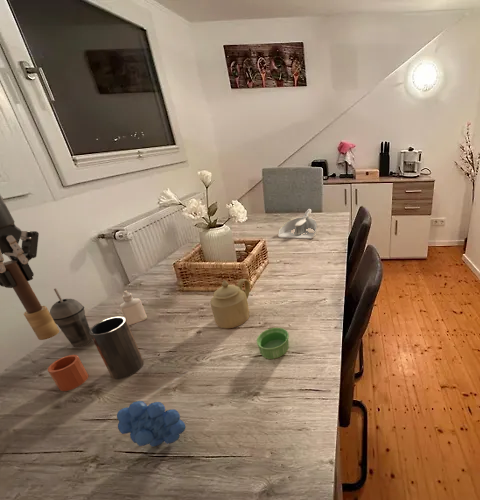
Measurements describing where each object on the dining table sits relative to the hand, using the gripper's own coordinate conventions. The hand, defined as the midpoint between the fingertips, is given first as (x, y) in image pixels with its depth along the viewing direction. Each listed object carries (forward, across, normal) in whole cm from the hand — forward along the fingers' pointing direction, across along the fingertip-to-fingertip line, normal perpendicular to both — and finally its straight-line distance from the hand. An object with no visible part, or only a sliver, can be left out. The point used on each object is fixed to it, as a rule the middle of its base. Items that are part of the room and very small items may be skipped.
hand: (19, 283), depth 61 cm
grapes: (+30, +12, +34) cm, 47 cm away
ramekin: (+30, -18, +47) cm, 58 cm away
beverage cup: (+30, -13, -13) cm, 35 cm away
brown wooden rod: (+14, 0, 0) cm, 14 cm away
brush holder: (+30, 0, 0) cm, 30 cm away
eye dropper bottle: (+30, -25, -6) cm, 39 cm away
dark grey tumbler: (+30, -6, +10) cm, 32 cm away
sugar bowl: (+30, -32, +26) cm, 51 cm away
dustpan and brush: (+30, -122, +24) cm, 128 cm away
